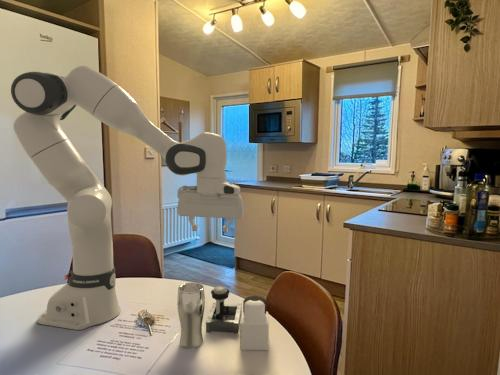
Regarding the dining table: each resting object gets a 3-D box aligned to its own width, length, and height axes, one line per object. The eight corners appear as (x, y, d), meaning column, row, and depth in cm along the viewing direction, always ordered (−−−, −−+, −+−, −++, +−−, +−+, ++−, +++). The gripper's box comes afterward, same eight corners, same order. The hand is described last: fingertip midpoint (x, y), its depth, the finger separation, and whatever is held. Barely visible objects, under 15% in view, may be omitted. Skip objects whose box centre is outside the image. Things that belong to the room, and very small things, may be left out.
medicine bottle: (241, 335, 92) (241, 292, 91) (267, 335, 92) (268, 293, 91) (240, 350, 85) (240, 304, 84) (268, 351, 85) (269, 305, 84)
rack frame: (206, 332, 93) (206, 322, 93) (213, 312, 105) (213, 303, 105) (238, 333, 93) (238, 323, 93) (241, 313, 105) (241, 304, 104)
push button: (222, 329, 95) (222, 294, 94) (205, 325, 97) (205, 291, 96) (232, 318, 101) (232, 286, 100) (216, 315, 103) (216, 283, 102)
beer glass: (192, 353, 84) (192, 295, 82) (172, 344, 87) (171, 288, 86) (210, 340, 90) (210, 285, 88) (190, 332, 93) (190, 280, 92)
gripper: (174, 186, 100) (173, 231, 101) (243, 189, 99) (241, 235, 100) (180, 184, 106) (179, 227, 108) (245, 187, 105) (243, 230, 106)
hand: (210, 231), depth 104 cm, fingers open, 8 cm apart
